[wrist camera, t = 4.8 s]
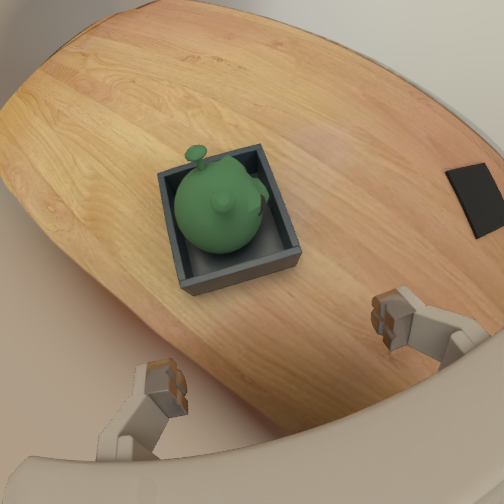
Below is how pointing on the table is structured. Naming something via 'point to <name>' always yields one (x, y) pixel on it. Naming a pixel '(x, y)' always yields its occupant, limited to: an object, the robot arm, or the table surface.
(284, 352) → the table surface
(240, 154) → the crate
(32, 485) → the robot arm
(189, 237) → the alien toy
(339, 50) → the table surface
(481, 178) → the mat
